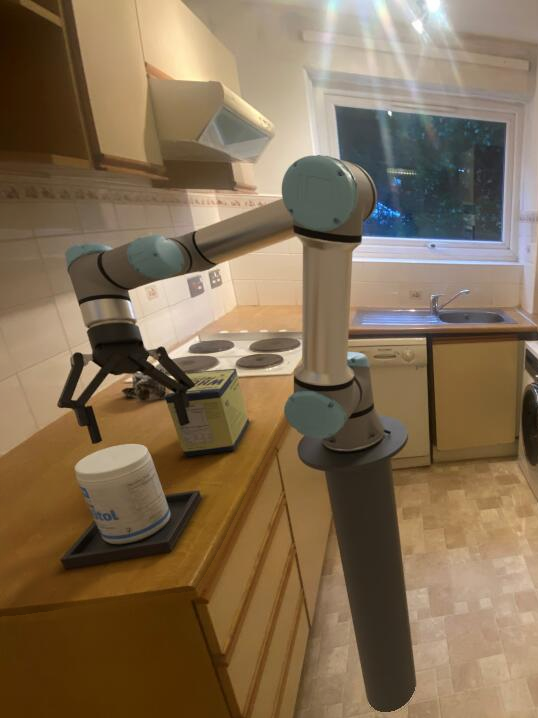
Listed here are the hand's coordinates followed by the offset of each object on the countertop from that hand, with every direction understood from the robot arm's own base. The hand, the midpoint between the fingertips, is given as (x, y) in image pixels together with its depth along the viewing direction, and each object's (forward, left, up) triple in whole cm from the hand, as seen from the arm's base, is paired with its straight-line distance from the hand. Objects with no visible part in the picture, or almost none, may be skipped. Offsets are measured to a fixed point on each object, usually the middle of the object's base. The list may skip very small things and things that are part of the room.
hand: (144, 433), depth 83 cm
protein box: (-4, -20, -13) cm, 25 cm away
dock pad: (-1, +12, -13) cm, 18 cm away
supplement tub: (-1, +12, -13) cm, 18 cm away
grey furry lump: (+24, -56, -13) cm, 62 cm away
